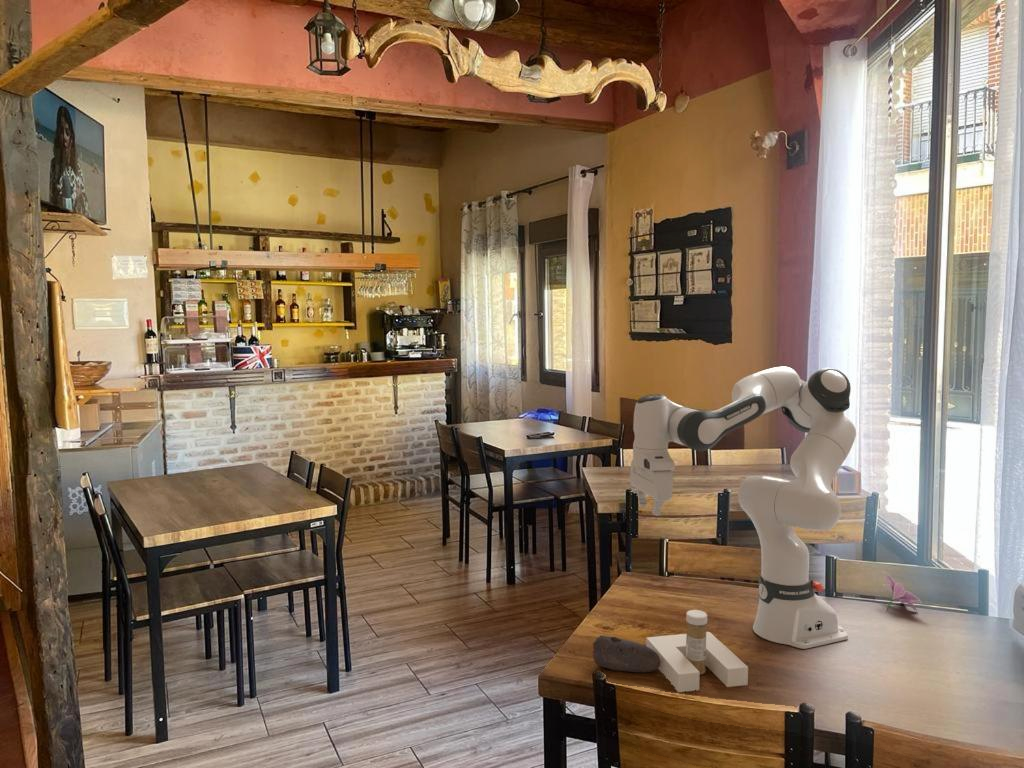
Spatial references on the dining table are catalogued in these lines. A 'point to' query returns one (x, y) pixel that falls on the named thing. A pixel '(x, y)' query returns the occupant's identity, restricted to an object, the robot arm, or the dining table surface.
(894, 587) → the lily
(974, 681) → the dining table surface
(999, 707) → the dining table surface
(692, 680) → the slotted plate
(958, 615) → the dining table surface
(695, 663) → the sprinkles bottle
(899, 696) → the dining table surface
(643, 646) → the perforated stone tool
